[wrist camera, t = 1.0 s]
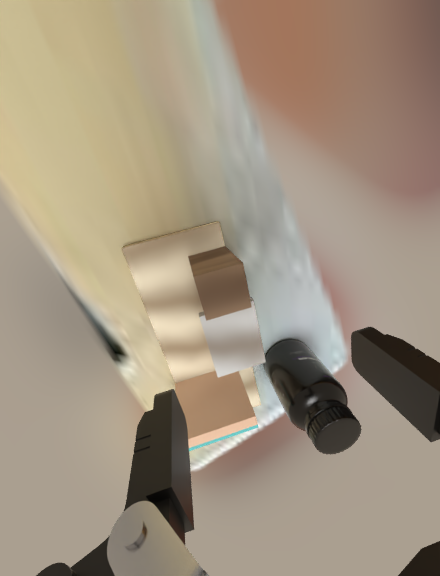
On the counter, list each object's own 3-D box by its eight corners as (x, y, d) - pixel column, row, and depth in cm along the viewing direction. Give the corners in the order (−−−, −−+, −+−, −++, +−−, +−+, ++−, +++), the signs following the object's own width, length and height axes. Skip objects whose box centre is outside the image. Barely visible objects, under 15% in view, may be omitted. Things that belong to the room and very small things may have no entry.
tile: (175, 383, 30) (176, 443, 23) (235, 363, 31) (255, 416, 23) (179, 392, 31) (181, 454, 23) (238, 373, 31) (258, 427, 24)
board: (123, 246, 24) (121, 248, 23) (217, 221, 25) (219, 222, 24) (192, 420, 34) (193, 427, 33) (258, 398, 35) (260, 404, 34)
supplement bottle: (302, 329, 32) (369, 398, 21) (312, 366, 35) (376, 444, 24) (255, 350, 32) (299, 429, 21) (269, 385, 35) (314, 472, 24)
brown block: (183, 257, 25) (187, 278, 18) (229, 244, 25) (248, 261, 19) (209, 343, 29) (219, 385, 23) (248, 331, 29) (269, 368, 23)
